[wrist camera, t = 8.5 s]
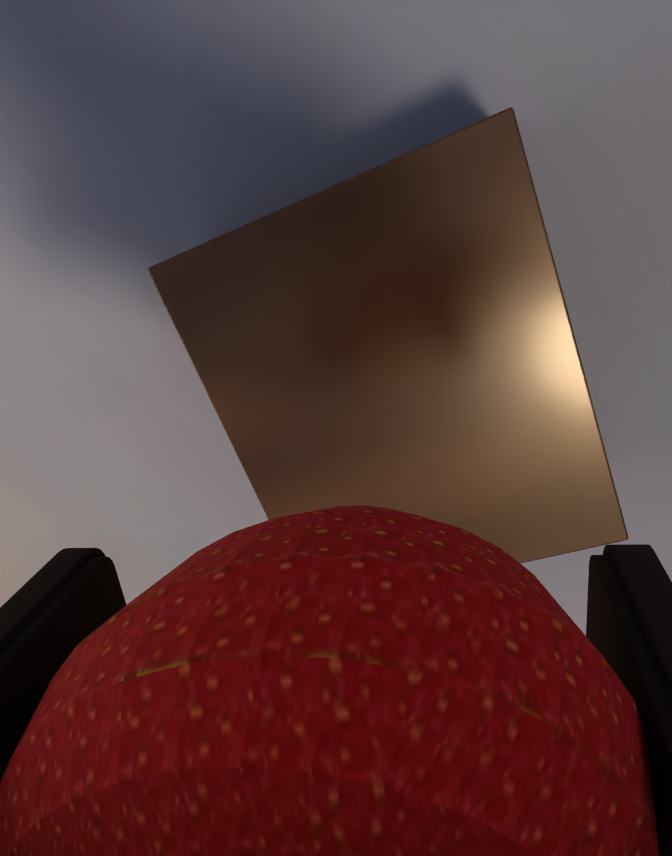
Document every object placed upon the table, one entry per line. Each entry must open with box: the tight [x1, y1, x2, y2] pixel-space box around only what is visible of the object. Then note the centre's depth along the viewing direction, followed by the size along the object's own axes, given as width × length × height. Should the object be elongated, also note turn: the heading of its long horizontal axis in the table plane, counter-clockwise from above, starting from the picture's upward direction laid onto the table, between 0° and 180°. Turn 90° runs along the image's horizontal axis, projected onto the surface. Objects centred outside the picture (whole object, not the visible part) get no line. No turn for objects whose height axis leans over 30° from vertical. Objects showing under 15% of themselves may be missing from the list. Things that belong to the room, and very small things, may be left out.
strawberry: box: [0, 505, 659, 856], centre depth 7 cm, size 6×8×10 cm
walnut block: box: [148, 108, 628, 563], centre depth 20 cm, size 13×11×5 cm
